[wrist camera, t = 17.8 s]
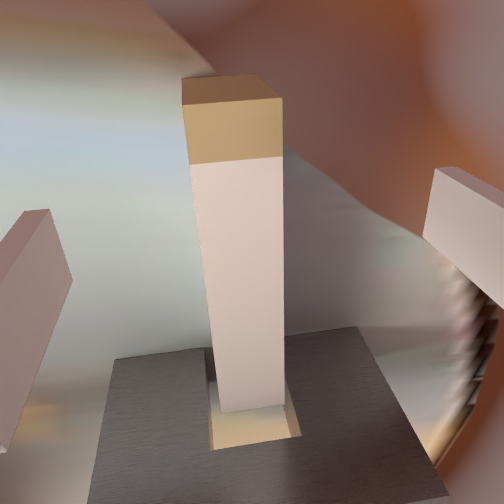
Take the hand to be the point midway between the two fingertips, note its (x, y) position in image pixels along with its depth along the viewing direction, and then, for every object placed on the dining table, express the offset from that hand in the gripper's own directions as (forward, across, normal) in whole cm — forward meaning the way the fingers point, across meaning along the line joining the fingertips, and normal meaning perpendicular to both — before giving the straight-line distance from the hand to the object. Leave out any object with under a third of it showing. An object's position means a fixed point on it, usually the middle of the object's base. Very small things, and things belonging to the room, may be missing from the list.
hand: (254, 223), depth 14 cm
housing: (+18, 0, -24) cm, 30 cm away
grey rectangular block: (+18, +1, -9) cm, 20 cm away
